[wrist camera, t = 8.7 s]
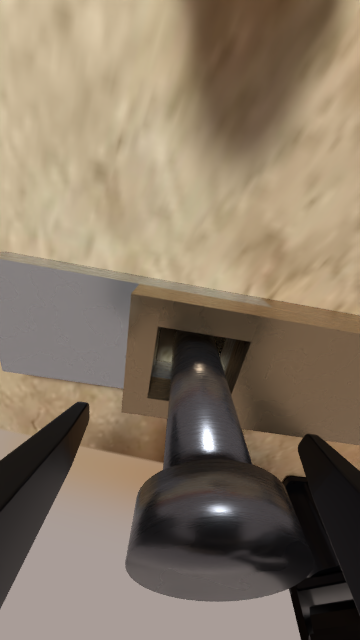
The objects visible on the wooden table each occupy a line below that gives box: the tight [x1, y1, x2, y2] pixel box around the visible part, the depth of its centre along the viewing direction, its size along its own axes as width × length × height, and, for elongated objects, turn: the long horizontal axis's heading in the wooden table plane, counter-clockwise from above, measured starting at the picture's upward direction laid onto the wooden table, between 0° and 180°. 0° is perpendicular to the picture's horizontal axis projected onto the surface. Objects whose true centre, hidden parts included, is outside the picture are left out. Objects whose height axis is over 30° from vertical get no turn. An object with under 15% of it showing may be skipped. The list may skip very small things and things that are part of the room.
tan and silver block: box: [0, 252, 360, 445], centre depth 13 cm, size 8×26×4 cm, turn 80°
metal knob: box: [126, 330, 314, 601], centre depth 10 cm, size 4×4×11 cm
